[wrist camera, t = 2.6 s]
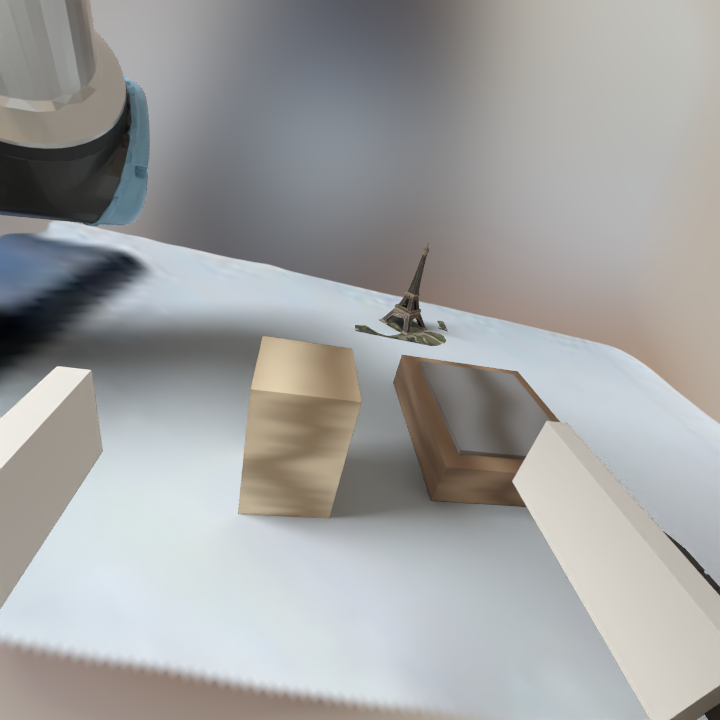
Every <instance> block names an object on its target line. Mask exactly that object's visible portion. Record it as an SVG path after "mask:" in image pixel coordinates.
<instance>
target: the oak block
mask: <svg viewBox="0 0 720 720" xmlns="http://www.w3.org/2000/svg"><path fill="white" fill-rule="evenodd" d="M361 403H362V401H361V395H360V390H359V384H358V379H357V373H356V368H355V363H354V357H353V352H352V349H351V348H344V347H337V346H330V345H323V344H316V343H309V342H302V341H295V340H288V339H281V338H274V337H267V336H263V337H262V341H261V345H260V350H259V354H258V358H257V363H256V367H255V372H254V376H253V380H252V385H251V389H250V399H249V409H248V419H247V429H246V439H245V449H244V459H243V469H242V479H241V488H240V498H239V508H238V514H252V515H272V516H292V517H312V518H329V517H330V514H331V510H332V507H333V503H334V499H335V496H336V492H337V489H338V485H339V482H340V478H341V474H342V471H343V467H344V464H345V460H346V457H347V453H348V449H349V446H350V442H351V439H352V435H353V431H354V428H355V424H356V421H357V417H358V414H359V410H360V406H361Z"/></svg>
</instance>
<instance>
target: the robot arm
mask: <svg viewBox="0 0 720 720" xmlns="http://www.w3.org/2000/svg"><path fill="white" fill-rule="evenodd" d="M149 136H150V135H149V115H148V106H147V101H146V96H145V93H144V91H143V90H142V88H141V87H140V86H139V85H138V84H137V83H135V82H133V81H131V80H129V79H128V78H127V77H126V76H123V73H122V70H121V67H120V65H119V62H118V60H117V58H116V57H115V55H114V53H113V51H112V50H111V48H110V47H109V46H108V44H107V43H106V42H105V41H104V39H103V38H102V37H101V36H100V35H99V34H98V33H97V32H96V31H95V30H94V28H93V20H92V13H91V4H90V0H0V215H8V216H18V217H29V218H40V219H50V220H60V221H70V222H80V223H83V224H85V225H89V226H97V225H100V224H105V225H106V224H107V225H127V224H131V223H133V222H134V221H136V220H137V219H138V218H139V216H140V215H141V212H142V209H143V206H144V202H145V197H146V191H147V181H148V176H147V168H148V161H149V147H150V145H149V144H150V143H149V141H150V138H149ZM102 452H103V449H102V442H101V435H100V428H99V421H98V413H97V406H96V399H95V392H94V385H93V378H92V371H91V370H87V369H78V368H69V367H60V366H57V367H56V368H54V369H53V370H52V371H51V372H50V373H49V374H48V375H47V376H46V377H45V378H44V379H43V380H41V381H40V382H39V383H38V384H37V385H36V386H35V387H34V388H33V389H32V390H31V391H30V392H29V393H27V394H26V395H25V396H24V397H23V398H22V399H21V400H20V401H19V402H18V403H17V404H16V405H14V406H13V407H12V408H11V409H10V410H9V411H8V412H7V413H6V414H5V415H4V416H3V417H2V418H0V609H1V607H2V606H3V604H4V603H5V601H6V600H7V598H8V596H9V595H10V593H11V592H12V590H13V589H14V587H15V586H16V584H17V583H18V581H19V580H20V578H21V576H22V575H23V573H24V572H25V570H26V569H27V567H28V566H29V564H30V563H31V561H32V560H33V558H34V556H35V555H36V553H37V552H38V550H39V549H40V547H41V546H42V544H43V543H44V541H45V539H46V538H47V536H48V535H49V533H50V532H51V530H52V529H53V527H54V526H55V524H56V523H57V521H58V519H59V518H60V516H61V515H62V513H63V512H64V510H65V509H66V507H67V506H68V504H69V502H70V501H71V499H72V498H73V496H74V495H75V493H76V492H77V490H78V489H79V487H80V486H81V484H82V482H83V481H84V479H85V478H86V476H87V475H88V473H89V472H90V470H91V469H92V467H93V465H94V464H95V462H96V461H97V459H98V458H99V456H100V455H101V453H102ZM512 482H513V484H514V485H515V487H516V489H517V491H518V492H519V494H520V496H521V498H522V499H523V501H524V503H525V504H526V506H527V508H528V510H529V511H530V513H531V515H532V517H533V518H534V520H535V522H536V523H537V525H538V527H539V529H540V530H541V532H542V534H543V536H544V537H545V539H546V541H547V542H548V544H549V546H550V548H551V549H552V551H553V553H554V555H555V556H556V558H557V560H558V561H559V563H560V565H561V567H562V568H563V570H564V572H565V574H566V575H567V577H568V579H569V580H570V582H571V584H572V586H573V587H574V589H575V591H576V593H577V594H578V596H579V598H580V599H581V601H582V603H583V605H584V606H585V608H586V610H587V612H588V613H589V615H590V617H591V618H592V620H593V622H594V624H595V625H596V627H597V629H598V631H599V632H600V634H601V636H602V637H603V639H604V641H605V643H606V644H607V646H608V648H609V650H610V651H611V653H612V655H613V656H614V658H615V660H616V662H617V663H618V665H619V667H620V669H621V670H622V672H623V674H624V675H625V677H626V679H627V681H628V682H629V684H630V686H631V688H632V689H633V691H634V693H635V694H636V696H637V698H638V700H639V701H640V703H641V705H642V707H643V708H644V710H645V712H646V713H647V715H648V717H649V719H650V720H696V719H698V718H700V717H701V716H703V715H704V714H705V715H706V717H707V718H708V720H720V587H719V586H718V585H717V583H716V582H715V581H714V580H713V579H712V578H711V577H710V576H709V575H708V574H705V573H704V571H705V570H704V569H703V568H702V567H701V566H700V565H699V564H698V562H697V561H696V560H695V559H694V558H693V557H692V556H691V555H690V554H689V552H688V551H687V550H686V549H685V548H683V547H682V546H681V545H680V544H679V543H677V542H676V541H675V540H674V539H672V538H671V537H670V536H669V535H668V534H666V533H665V532H664V531H662V530H661V529H660V528H659V526H658V525H657V524H656V523H655V522H654V521H653V520H652V519H651V517H650V516H649V515H648V514H647V513H646V512H645V511H644V509H643V508H642V507H641V506H640V505H639V504H638V503H637V502H636V500H635V499H634V498H633V497H632V496H631V495H630V494H629V492H628V491H627V490H626V489H625V488H624V487H623V486H622V485H621V483H620V482H619V481H618V480H617V479H616V478H615V477H614V476H613V474H612V473H611V472H610V471H609V470H608V469H607V468H606V466H605V465H604V464H603V463H602V462H601V461H600V460H599V459H598V457H597V456H596V455H595V454H594V453H593V452H592V451H591V449H590V448H589V447H588V446H587V445H586V444H585V443H584V442H583V440H582V439H581V438H580V437H579V436H578V435H577V434H576V433H575V431H574V430H573V429H572V428H571V427H570V426H569V425H568V423H562V422H553V421H546V423H545V424H544V426H543V428H542V430H541V432H540V433H539V435H538V437H537V439H536V440H535V442H534V444H533V446H532V447H531V449H530V451H529V453H528V454H527V456H526V458H525V460H524V461H523V463H522V465H521V467H520V468H519V470H518V472H517V474H516V475H515V477H514V479H513V481H512Z"/></svg>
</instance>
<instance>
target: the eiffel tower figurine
mask: <svg viewBox="0 0 720 720" xmlns="http://www.w3.org/2000/svg"><path fill="white" fill-rule="evenodd" d="M428 252H429V248H428V246H427V247H426V248H424V250H423V255H422V258H421V261H420V263H419V266H418V269H417V271H416V274H415V276H414V279H413V281H412V283H411V285H410V288H409V289H408V291H406V295H405V296H404V298H403V299H402V300H401V302H400V303H399V304H396V306H395V308H394V309H393V310H392V311H391V312H389V313H388V314H387V315H386V316H385V317H383V318H382V319H380V321H381V322H383V323H385V324H387V325H388V326H390V327H392V328H394V329H395V330H397V331H399V332H401V334H398V335H393V336H385V335H382V334H380V333H377V332H375V331H373V330H372V329H370V328H369V327H367V326H360V325H355V330H356V331H361V332H367V333H371V334H375V335H380V336H384V337H390V338H396V339H401V340H406V341H411V342H416V343H421V344H425V345H430V346H437V345H440V344H442V343H445V342H446V339H445V338H444V336H442V335H441V334H437V333H432V332H422V331H423V330H426V328H425V326H424V323H423V320H422V317H421V314H420V312H421V309H419V300H418V296H419V287H420V281H421V277H422V273H423V268H424V264H425V260H426V256H427V253H428ZM413 305H414V306H413ZM396 314H398V315H396ZM394 315H396V316H394ZM414 318H416V320H417V322H418V324H417V323H415V322H413V321H412V320H413V319H414ZM437 322H438V324H440V325H439V326H440V327H442V328H439V329H442V330H445V331H447V329H446V327H445V324H444V322H442V321H437Z"/></svg>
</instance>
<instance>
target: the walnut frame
mask: <svg viewBox="0 0 720 720" xmlns="http://www.w3.org/2000/svg"><path fill="white" fill-rule="evenodd" d="M393 383H394V386H395V389H396V392H397V395H398V399H399V402H400V405H401V408H402V411H403V414H404V417H405V420H406V424H407V427H408V430H409V433H410V436H411V439H412V442H413V445H414V448H415V452H416V455H417V458H418V461H419V464H420V467H421V470H422V473H423V476H424V480H425V483H426V486H427V489H428V492H429V495H430V498H431V501H447V502H462V503H478V504H494V505H510V506H526V504H525V503H524V501H523V499H522V498H521V496H520V494H519V492H518V491H517V489H516V487H515V485H514V484H513V482H512V481H513V479H514V477H515V475H516V474H517V472H518V470H519V468H520V467H521V465H522V463H523V461H524V460H525V458H526V456H527V454H528V453H529V451H530V449H531V447H532V446H533V444H534V442H535V440H536V439H537V437H538V435H539V433H540V432H541V430H542V428H543V426H544V424H545V423H546V421H553V422H560V421H559V420H558V419H557V418H556V417H555V415H554V414H553V413H552V412H551V411H550V409H549V408H548V407H547V406H546V405H545V404H544V402H543V401H542V400H541V399H540V398H539V396H538V395H537V394H536V393H535V392H534V390H533V389H532V388H531V387H530V386H529V384H528V383H527V382H526V381H525V380H524V379H523V377H522V376H521V375H520V374H519V373H518V372H517V371H510V370H503V369H496V368H489V367H483V366H476V365H469V364H462V363H455V362H448V361H441V360H434V359H427V358H420V357H413V356H406V355H402V357H401V360H400V363H399V366H398V369H397V372H396V375H395V379H394V382H393ZM526 507H527V506H526Z"/></svg>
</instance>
